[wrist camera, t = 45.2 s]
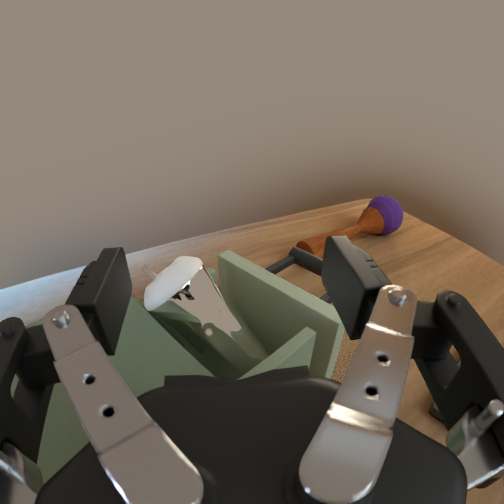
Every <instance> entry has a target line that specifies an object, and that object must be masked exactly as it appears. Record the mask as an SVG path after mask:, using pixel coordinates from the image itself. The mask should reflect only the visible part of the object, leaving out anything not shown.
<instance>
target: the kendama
mask: <svg viewBox="0 0 504 504" xmlns="http://www.w3.org/2000/svg"><path fill="white" fill-rule="evenodd" d="M402 219H403V211H402V207H401V206H400V204H399V202H398V201H396V200H395V199H394V198H392V197H389V196H385V195H384V196H378V197H376V198H374V199H373V200H371V201H370V203H369V205H368V207H367V208H366V209H364V211H363V213H362V214H361V216H360V218H359V220H358V222H357V224H356V225H353V226H350V227H347V228H343V229H340V230H337V231H333V232H330V233H326V234H323V235H320V236H316V237H313V238H310V239H306V240H303V241H300V242H298V243H297V245H296V247H297V248H300V249H302V250H304V251H306V252H308V253H311V254H313V255H315V256H317V257H319V258H322V259H323V255H324V248H325V241H326V238H327V237H328V236H344V235H345V236H347V237H348V239H351V238H352V237H354V236H355V235H356V234H358V233H359V232H363V233H368V234H376V235H377V234H390V233H392V232H394V231H396V230H397V229H398V228H399V227H400V225H401V223H402Z"/></svg>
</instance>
